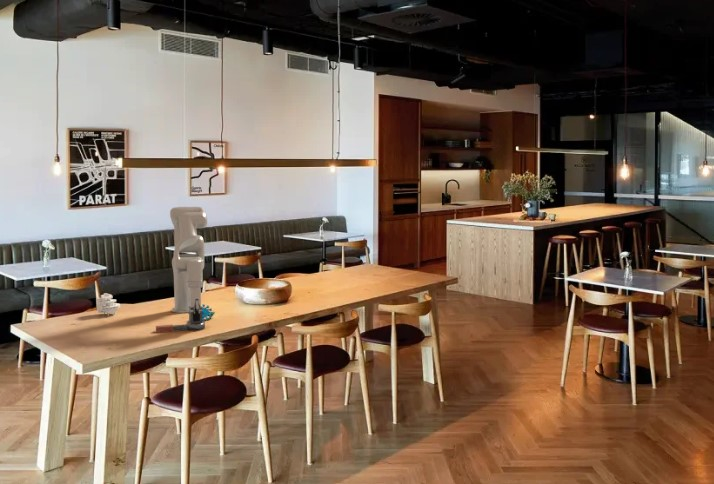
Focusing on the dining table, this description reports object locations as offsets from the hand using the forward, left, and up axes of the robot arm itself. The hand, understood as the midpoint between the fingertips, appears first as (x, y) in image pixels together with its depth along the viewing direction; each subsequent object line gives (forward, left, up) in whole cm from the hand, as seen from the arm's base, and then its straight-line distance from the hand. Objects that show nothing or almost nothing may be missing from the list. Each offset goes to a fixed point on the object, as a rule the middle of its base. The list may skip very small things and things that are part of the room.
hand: (195, 319), depth 322 cm
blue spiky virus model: (-18, +7, -5) cm, 20 cm away
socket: (0, 0, -2) cm, 2 cm away
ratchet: (0, -7, -5) cm, 9 cm away
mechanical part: (-47, -39, -5) cm, 61 cm away
